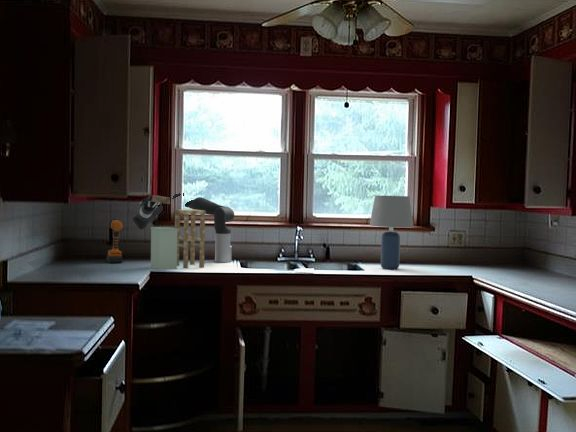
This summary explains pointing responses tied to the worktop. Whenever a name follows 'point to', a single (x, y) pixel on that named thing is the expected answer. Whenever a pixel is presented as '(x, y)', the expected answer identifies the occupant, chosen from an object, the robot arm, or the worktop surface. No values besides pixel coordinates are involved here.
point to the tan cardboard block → (160, 199)
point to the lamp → (391, 225)
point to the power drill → (115, 243)
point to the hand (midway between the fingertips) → (155, 196)
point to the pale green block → (164, 247)
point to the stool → (190, 238)
